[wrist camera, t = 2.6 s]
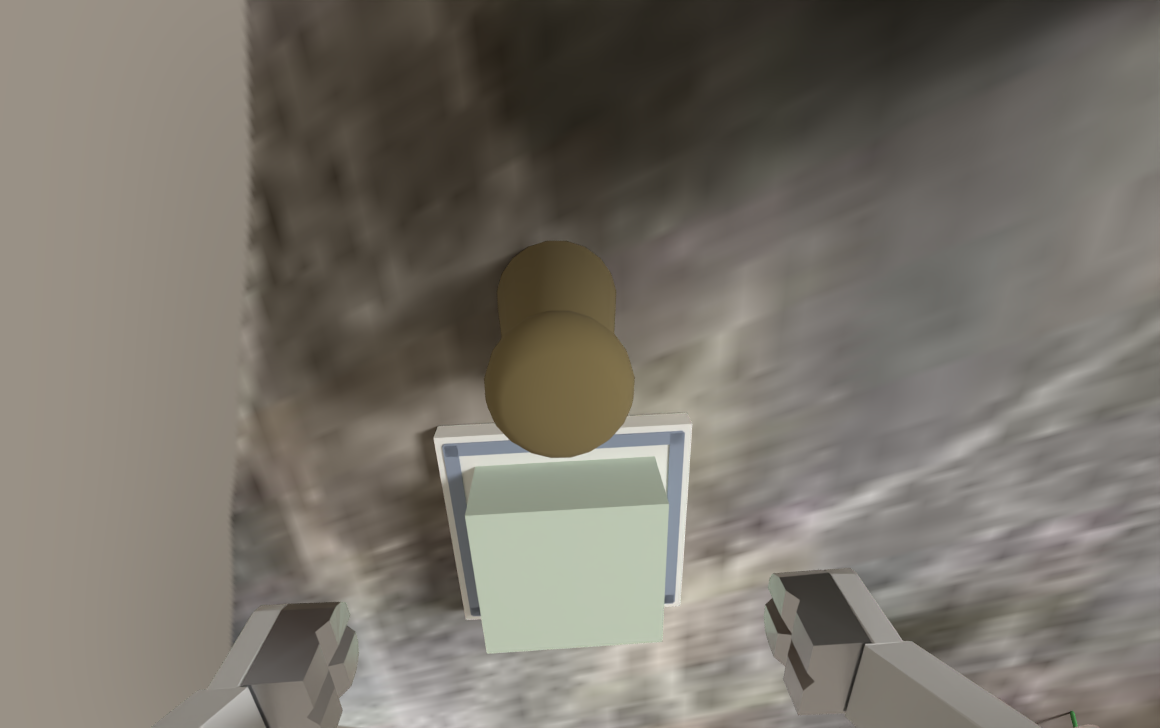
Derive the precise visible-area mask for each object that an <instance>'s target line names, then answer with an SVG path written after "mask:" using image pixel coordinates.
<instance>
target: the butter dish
mask: <svg viewBox="0 0 1160 728" xmlns="http://www.w3.org/2000/svg"><path fill="white" fill-rule="evenodd" d="M691 436H692V422H691V420H690V418H689V415H688V413H671V414H652V415H634V416H627V417H626V420H625V422H624V424H623V425H622V426H621V427H620V429H619V430H618V431H617V432H616V433H615V434H614V435H613V437H612V438H611V439H610V440H608V441H607V442H605V443H604V444H602V445H600V446H599V447H597V448H596V449H594V450H592V451H591V452H588V453H585V454H581V455H578V456H575V457H571V458H549V457H545V456H541V455H537V454H533V453H530V452H529V451H527V450H525V449H523V448H522V447H520V446H518V445H516V444H515V443H513V442H511V441H510V440H509V439H508V438H507V437H506V436H505V435H504V434H503V433H502V432H501V431H500V429H499V428H498V427H497V426H496V424H495V423H487V424H468V425H450V426H438V427H437V430H436V432H435V435H434V444H435V449H436V455H437V460H438V466H439V472H440V477H441V483H442V488H443V494H444V500H445V505H446V511H447V516H448V522H449V528H450V533H451V539H452V545H453V550H454V556H455V561H456V567H457V573H458V578H459V584H460V589H461V595H462V601H463V606H464V612H465V617H466V620H474V619H482V626H483V632H484V638H485V644H486V651H487V654H490V653H505V652H519V651H534V650H549V649H564V648H579V647H594V646H609V645H623V644H638V643H653V642H662V639H663V619H664V607H673V606H680V601H681V586H682V571H683V556H684V541H685V526H686V511H687V496H688V481H689V466H690V451H691Z"/></svg>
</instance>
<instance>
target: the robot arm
mask: <svg viewBox="0 0 1160 728" xmlns="http://www.w3.org/2000/svg"><path fill="white" fill-rule="evenodd" d="M768 589H769V591H770V593H771V596H772V599H771V600H770V601H769V602H768V603H766V604H765V612H764V623H765V632H766V636H767V640H768V643H769V646H770V649H771V651H772V654H773V656H774V657H775V658H776V659H777V660H778V661H779V662H781V663H782V664H783V665H784V666H785V672H784V677H783V680H784V683H785V685H786V688H787V690H788V692H789V695H790V697H791V699H792V702H793V704H794V707H795V709H796V711H797V714H798V715H814V714H837V713H846V714H845V716H846V717H847V718H848V719H849V720H850V721H851V722H852V723H853V724H854V725H855V726H856V727H857V728H1042V727H1040V726H1039V725H1037V724H1036V723H1034V722H1033V721H1031V720H1030V719H1028V718H1027V717H1025V716H1024V715H1022V714H1021V713H1019V712H1018V711H1016V710H1015V709H1013V708H1012V707H1010V706H1009V705H1007V704H1005V703H1004V702H1002V701H1001V700H999V699H998V698H996V697H995V696H993V695H992V694H990V693H989V692H987V691H986V690H984V689H983V688H981V687H980V686H978V685H977V684H975V683H974V682H972V681H971V680H969V679H968V678H966V677H965V676H963V675H962V674H960V673H959V672H957V671H956V670H954V669H953V668H951V667H950V666H948V665H947V664H945V663H944V662H942V661H940V660H939V659H937V658H936V657H934V656H933V655H931V654H930V653H928V652H927V651H925V650H924V649H922V648H921V647H919V646H918V645H916V644H915V643H913V642H912V641H902V639H901V638H900V636H899V635H898V633H897V632H896V630H895V629H894V627H893V626H892V624H891V623H890V622H889V620H888V619H887V617H886V616H885V614H884V613H883V611H882V610H881V608H880V607H879V605H878V604H877V602H876V601H875V600H874V598H873V597H872V595H871V594H870V592H869V591H868V589H867V588H866V586H865V585H864V583H863V582H862V580H861V579H860V577H859V576H858V575H857V573H856V572H855V571H854V570H852V569H851V568H843V569H828V570H811V571H798V572H785V573H773V574H772V576H771V577H770V579H769V585H768ZM349 617H350V613H349V610H348V607H347V604H346V603H345V602H324V603H298V604H281V605H261V606H260V607H259V608H258V609H256V610H255V611H254V612H253V613H252V615H251V616H250V618H249V620H248V621H247V623H246V625H245V626H244V628H243V630H242V631H241V633H240V635H239V636H238V638H237V640H236V641H235V643H234V645H233V646H232V648H231V650H230V652H229V653H228V655H227V656H226V658H225V660H224V662H223V663H222V665H221V667H220V668H219V670H218V671H217V673H216V675H215V676H214V678H213V680H212V681H211V683H210V685H209V687H208V688H207V689H204V690H197V691H196V692H195V693H194V694H193V695H191V696H190V697H189V698H187V699H186V700H185V701H184V702H182V703H181V704H180V705H179V706H177V707H176V708H175V709H173V710H172V711H171V712H169V713H168V714H167V715H166V716H164V717H163V718H162V719H161V720H159V721H158V722H157V723H156V724H154V725H153V726H152V727H151V728H337V726H338V723H339V720H340V717H341V714H342V711H343V710H342V707H341V704H340V701H339V698H340V697H341V696H342V695H343V694H344V693H345V692H346V691H347V690H348V689H349V688H350V687H351V685H352V682H353V679H354V676H355V673H356V670H357V663H358V656H359V648H358V639H357V636H356V632H355V631H354V630H352V629H351V628H350V627H348V626H347V622H348V620H349Z"/></svg>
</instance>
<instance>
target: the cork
mask: <svg viewBox="0 0 1160 728" xmlns="http://www.w3.org/2000/svg"><path fill="white" fill-rule="evenodd" d="M497 301H498V314H499V322H500V330H501V340H500V341H499V343H498V344H497V345H496V347H495V348H494V349H493V351H492V354H491V357H490V360H489V364H488V367H487V371H486V374H485V378H484V384H485V398H486V403H487V406H488V409H489V411H490V413H491V416H492V418H493V420H494V422H495V424H496V426H497V427H498V428H499V429H500V431H501V432H502V433H503V434H504V435H505V436H506V437H507V438H508V439H509V440H510V441H511V442H513V443H515V444H516V445H518V446H520V447H522V448H523V449H525V450H527V451H529V452H530V453H533V454H537V455H541V456H545V457H549V458H571V457H575V456H578V455H581V454H585V453H588V452H591V451H592V450H594V449H596V448H597V447H599V446H600V445H602V444H604V443H605V442H607V441H608V440H610V439H611V438H612V437H613V435H614V434H615V433H616V432H617V431H618V430H619V429H620V427H621V426H622V425H623V424H624V422H625V420H626V417H627V415H628V413H629V411H630V408H631V406H632V402H633V395H634V379H635V377H634V374H633V370H632V367H631V364H630V360H629V357H628V354H627V351H626V349H625V348H624V346H623V345H622V344H621V342H620V341H619V340H618V338H617V337H616V336H615V334H614V325H615V306H616V289H615V285H614V282H613V279H612V275H611V273H610V271H609V270H608V269H607V267H606V266H605V264H604V263H603V261H602V260H601V259H600V258H599V257H598V256H596V255H595V254H594V253H592V252H591V251H590V250H588V249H587V248H586V247H583V246H580V245H577V244H574V243H571V242H568V241H545V242H542V243H539V244H536V245H533V246H530V247H527V248H526V249H525V250H523V251H522V252H521V253H519V254H518V255H517V256H515V257H514V258H513V259H512V260H511V261H510V263H509V264H508V266H507V267H506V269H505V270H504V272H503V273H502V275H501V279H500V282H499V286H498V289H497Z"/></svg>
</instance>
